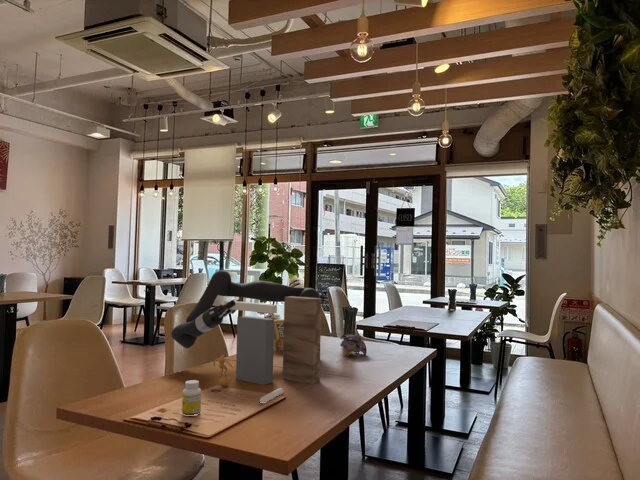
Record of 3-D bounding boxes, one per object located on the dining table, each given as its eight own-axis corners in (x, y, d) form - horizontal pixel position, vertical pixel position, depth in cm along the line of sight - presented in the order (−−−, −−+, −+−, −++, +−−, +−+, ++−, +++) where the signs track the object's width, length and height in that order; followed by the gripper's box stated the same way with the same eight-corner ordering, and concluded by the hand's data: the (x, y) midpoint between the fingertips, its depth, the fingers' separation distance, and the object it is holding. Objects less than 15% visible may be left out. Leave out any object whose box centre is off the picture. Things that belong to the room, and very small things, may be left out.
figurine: (237, 386, 178) (238, 353, 178) (228, 390, 172) (228, 356, 173) (218, 384, 181) (219, 351, 182) (208, 387, 176) (209, 354, 176)
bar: (229, 307, 197) (229, 300, 197) (276, 313, 185) (277, 305, 185) (223, 308, 195) (224, 300, 195) (272, 313, 182) (272, 305, 182)
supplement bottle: (183, 411, 149) (184, 379, 149) (201, 411, 149) (202, 379, 150) (180, 417, 143) (181, 384, 144) (199, 417, 144) (200, 384, 144)
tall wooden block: (289, 376, 196) (291, 296, 197) (319, 381, 188) (321, 298, 189) (282, 378, 191) (284, 296, 192) (312, 384, 184) (314, 299, 185)
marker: (257, 409, 156) (279, 395, 171) (262, 406, 155) (284, 393, 170) (254, 401, 157) (276, 388, 171) (259, 398, 156) (281, 386, 171)
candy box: (282, 348, 254) (283, 319, 254) (287, 349, 250) (288, 319, 251) (268, 350, 248) (269, 320, 249) (273, 351, 245) (273, 321, 245)
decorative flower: (375, 337, 236) (347, 328, 233) (371, 361, 231) (342, 352, 229) (364, 340, 249) (337, 332, 246) (360, 363, 245) (332, 355, 242)
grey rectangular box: (244, 376, 193) (245, 315, 194) (272, 382, 186) (274, 318, 187) (235, 379, 189) (237, 317, 190) (264, 384, 182) (266, 320, 182)
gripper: (193, 313, 196) (221, 294, 188) (217, 310, 208) (245, 292, 200) (199, 330, 194) (228, 311, 186) (223, 326, 206) (252, 308, 198)
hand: (237, 301), depth 193 cm, fingers closed on bar, 3 cm apart
